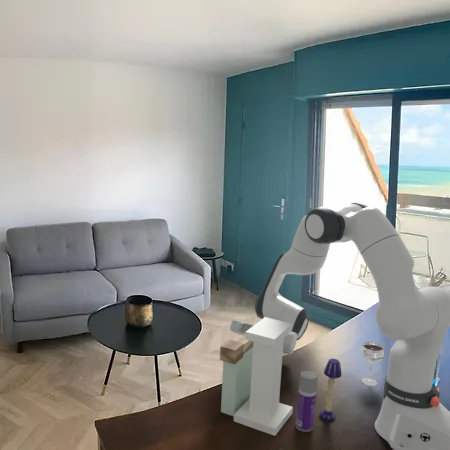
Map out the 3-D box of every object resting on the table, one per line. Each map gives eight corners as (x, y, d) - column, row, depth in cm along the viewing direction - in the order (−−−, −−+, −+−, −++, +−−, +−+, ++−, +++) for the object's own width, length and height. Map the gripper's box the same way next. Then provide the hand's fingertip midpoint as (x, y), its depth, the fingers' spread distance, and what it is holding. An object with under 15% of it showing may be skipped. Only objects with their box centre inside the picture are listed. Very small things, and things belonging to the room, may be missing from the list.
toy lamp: (324, 410, 146) (329, 355, 142) (339, 416, 143) (345, 360, 140) (316, 417, 142) (321, 361, 138) (332, 423, 139) (338, 366, 136)
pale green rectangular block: (252, 396, 151) (256, 345, 148) (233, 416, 141) (236, 361, 137) (240, 392, 153) (243, 342, 149) (220, 411, 142) (223, 358, 139)
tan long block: (264, 339, 152) (265, 326, 151) (234, 364, 136) (235, 350, 135) (250, 335, 154) (251, 322, 153) (219, 360, 138) (220, 346, 137)
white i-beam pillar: (292, 413, 143) (299, 325, 138) (275, 435, 133) (282, 341, 127) (253, 400, 149) (258, 315, 143) (233, 421, 138) (238, 329, 133)
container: (313, 433, 135) (317, 380, 132) (294, 430, 136) (299, 377, 133) (313, 423, 139) (318, 371, 136) (296, 420, 140) (300, 369, 137)
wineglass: (353, 380, 163) (357, 345, 160) (365, 374, 167) (369, 339, 165) (372, 389, 158) (377, 353, 156) (384, 382, 162) (389, 347, 160)
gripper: (242, 319, 167) (225, 310, 156) (302, 334, 158) (289, 326, 146) (237, 339, 166) (219, 331, 154) (297, 355, 156) (283, 348, 145)
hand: (254, 329), depth 150 cm, fingers open, 8 cm apart
